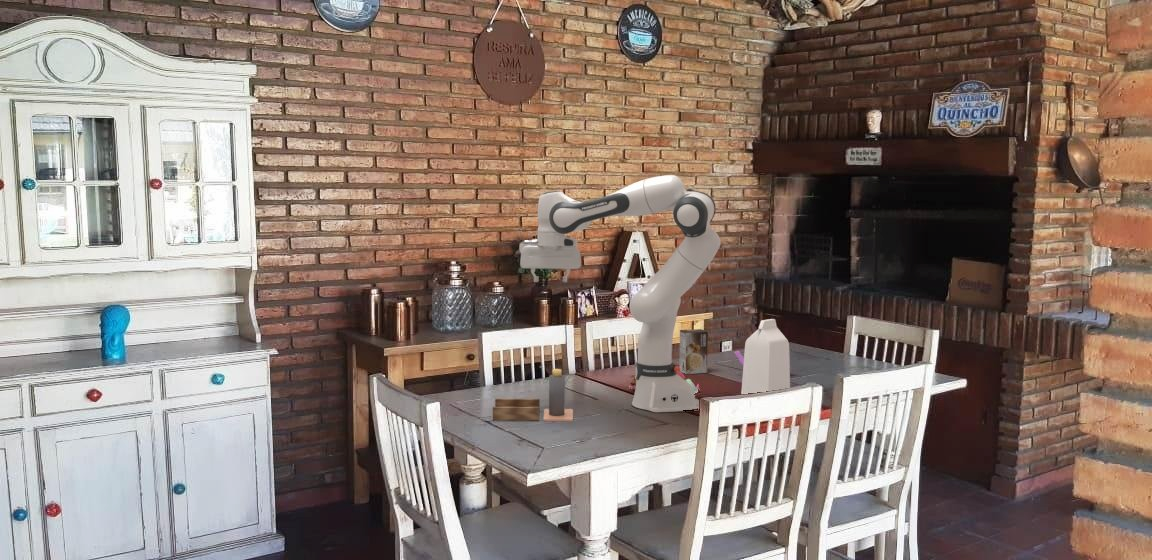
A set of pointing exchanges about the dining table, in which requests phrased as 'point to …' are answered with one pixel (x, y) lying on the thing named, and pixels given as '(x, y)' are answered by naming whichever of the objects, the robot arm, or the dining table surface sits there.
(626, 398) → the dining table surface
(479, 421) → the dining table surface
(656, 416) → the dining table surface
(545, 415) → the terracotta tile
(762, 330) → the milk
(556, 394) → the grey tall block
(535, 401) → the guide channel
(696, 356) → the coffee box
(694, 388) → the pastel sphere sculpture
